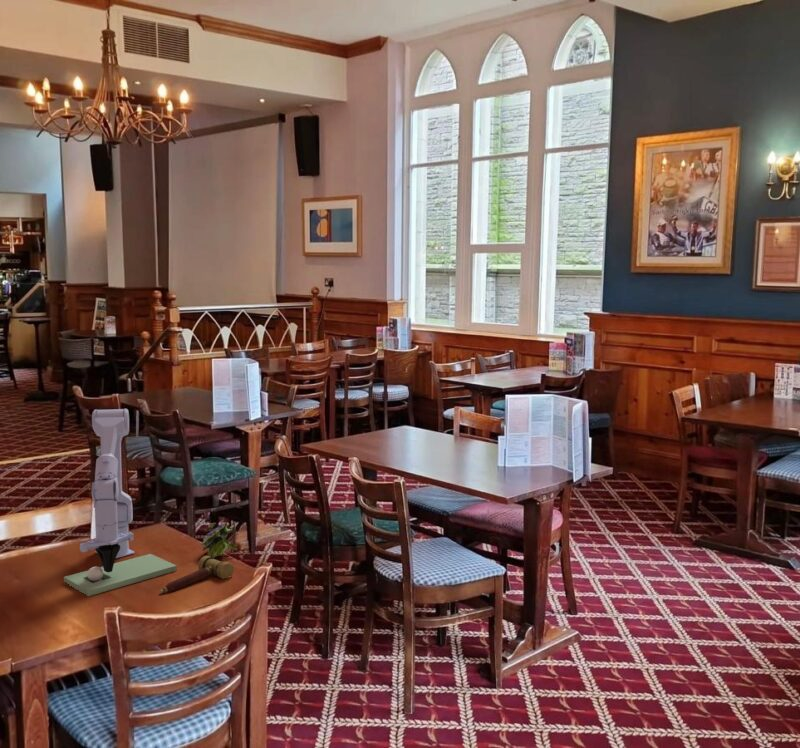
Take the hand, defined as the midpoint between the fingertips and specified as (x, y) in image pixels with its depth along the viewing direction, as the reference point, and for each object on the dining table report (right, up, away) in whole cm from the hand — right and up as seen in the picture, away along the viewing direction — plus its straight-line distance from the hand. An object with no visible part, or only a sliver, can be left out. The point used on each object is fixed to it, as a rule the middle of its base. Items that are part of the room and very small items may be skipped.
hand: (108, 571), depth 225 cm
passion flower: (+26, 0, +22) cm, 34 cm away
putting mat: (+3, -2, +3) cm, 5 cm away
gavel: (+23, -4, -1) cm, 24 cm away
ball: (-3, 0, -2) cm, 3 cm away
